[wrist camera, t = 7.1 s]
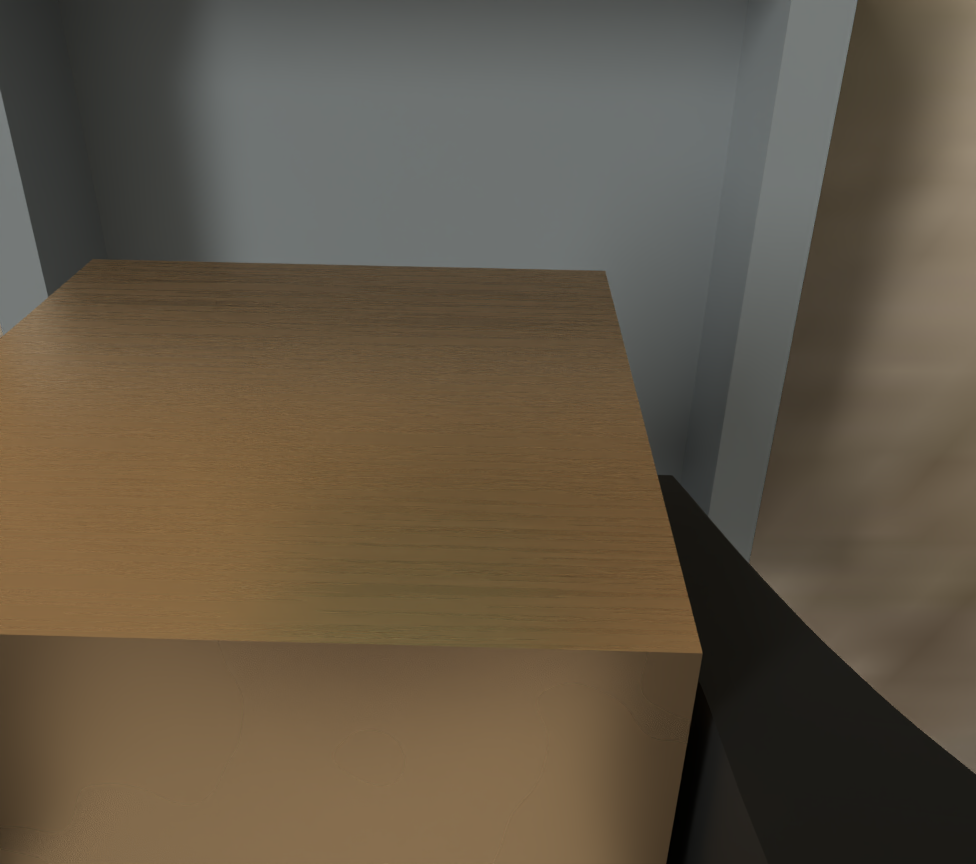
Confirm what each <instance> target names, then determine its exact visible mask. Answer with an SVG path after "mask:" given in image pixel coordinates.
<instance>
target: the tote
mask: <svg viewBox="0 0 976 864" xmlns="http://www.w3.org/2000/svg"><path fill="white" fill-rule="evenodd" d="M857 1H858V0H0V324H1V328H2V332H3V336H4V335H5V334H6V333H7V332H8V331H9V330H11V329H12V328H13V327H14V326H15V325H16V324H18V323H19V322H20V321H21V320H22V319H23V318H25V317H26V316H27V315H28V314H29V313H30V312H32V311H33V310H34V309H35V308H36V307H37V306H39V305H40V304H41V303H42V302H43V301H44V300H46V299H47V298H48V297H49V296H50V295H51V294H53V293H54V292H55V291H56V290H57V289H58V288H60V287H61V286H62V285H63V284H64V283H65V282H67V281H68V280H69V279H70V278H71V277H72V276H74V275H75V274H76V273H77V272H78V271H79V270H81V269H82V268H83V267H84V266H85V265H86V264H88V263H89V262H90V261H91V260H92V259H106V260H150V261H194V262H238V263H282V264H326V265H370V266H415V267H459V268H503V269H547V270H591V271H606V275H607V279H608V283H609V287H610V291H611V295H612V299H613V303H614V307H615V311H616V315H617V319H618V322H619V326H620V330H621V334H622V338H623V342H624V346H625V350H626V354H627V358H628V362H629V366H630V370H631V374H632V377H633V381H634V385H635V389H636V393H637V397H638V401H639V405H640V409H641V413H642V417H643V421H644V425H645V429H646V432H647V436H648V440H649V444H650V448H651V452H652V456H653V460H654V464H655V468H656V472H657V475H673V476H674V478H675V479H676V480H677V481H678V482H679V483H680V484H681V485H682V487H683V488H684V489H685V490H686V491H687V492H688V493H689V494H690V496H691V497H692V498H693V499H694V500H695V502H696V503H697V504H698V505H699V506H700V507H701V509H702V510H703V511H704V512H705V513H706V514H707V516H708V517H709V518H710V519H711V520H712V522H713V523H714V524H715V525H716V526H717V527H718V529H719V530H720V531H721V532H722V533H723V534H724V536H725V537H726V538H727V539H728V540H729V541H730V542H731V544H732V545H733V546H734V547H735V548H736V549H737V550H738V552H739V553H740V554H741V555H742V556H743V557H744V558H745V560H746V561H747V562H748V563H749V560H750V555H751V550H752V545H753V540H754V534H755V529H756V524H757V519H758V514H759V508H760V503H761V498H762V493H763V488H764V483H765V477H766V472H767V467H768V462H769V457H770V451H771V446H772V441H773V436H774V431H775V426H776V420H777V415H778V410H779V405H780V400H781V395H782V389H783V384H784V379H785V374H786V369H787V363H788V358H789V353H790V348H791V343H792V338H793V332H794V327H795V322H796V317H797V312H798V306H799V301H800V296H801V291H802V286H803V281H804V275H805V270H806V265H807V260H808V255H809V249H810V244H811V239H812V234H813V229H814V224H815V218H816V213H817V208H818V203H819V198H820V192H821V187H822V182H823V177H824V172H825V167H826V161H827V156H828V151H829V146H830V141H831V135H832V130H833V125H834V120H835V115H836V110H837V104H838V99H839V94H840V89H841V84H842V78H843V73H844V68H845V63H846V58H847V53H848V47H849V42H850V37H851V32H852V27H853V21H854V16H855V11H856V6H857Z"/></svg>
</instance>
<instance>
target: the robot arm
mask: <svg viewBox="0 0 976 864" xmlns="http://www.w3.org/2000/svg"><path fill="white" fill-rule="evenodd" d="M657 476H658V480H659V484H660V487H661V491H662V495H663V499H664V503H665V507H666V511H667V515H668V519H669V523H670V527H671V531H672V535H673V539H674V542H675V546H676V550H677V554H678V558H679V562H680V566H681V570H682V574H683V578H684V582H685V586H686V590H687V594H688V597H689V601H690V605H691V609H692V613H693V617H694V621H695V625H696V629H697V633H698V637H699V641H700V645H701V649H702V653H703V655H702V660H701V666H700V672H699V678H698V683H697V689H696V695H695V701H694V706H693V712H692V718H691V724H690V729H689V735H688V741H687V747H686V752H685V758H684V764H683V770H682V776H681V781H680V787H679V793H678V799H677V804H676V810H675V816H674V822H673V827H672V833H671V839H670V845H669V850H668V856H667V862H666V864H976V774H974V773H973V772H972V771H971V770H970V769H968V768H967V767H966V766H965V765H963V764H962V763H961V762H960V761H958V760H957V759H956V758H955V757H953V756H952V755H951V754H950V753H948V752H947V751H946V750H945V749H944V748H942V747H941V746H940V745H939V744H937V743H936V742H935V741H934V740H932V739H931V738H930V737H929V736H927V735H926V734H925V733H924V732H922V731H921V730H920V729H919V728H918V727H916V726H915V725H914V724H913V723H912V722H911V721H909V720H908V719H907V718H906V717H905V716H904V715H902V714H901V713H900V712H899V711H898V710H897V709H896V708H894V707H893V706H892V705H891V704H890V703H889V702H887V701H886V700H885V699H884V698H883V697H882V696H881V695H880V694H879V693H877V692H876V691H875V690H874V689H873V688H872V687H871V686H870V685H869V684H868V683H867V682H866V681H865V680H864V679H862V678H861V677H860V676H859V675H858V674H857V673H856V672H855V671H854V670H853V669H852V668H851V667H850V666H849V665H847V664H846V663H845V662H844V661H843V660H842V659H841V658H840V657H839V656H838V655H837V654H836V653H835V652H834V651H833V650H831V649H830V648H829V647H828V646H827V645H826V644H825V643H824V642H823V641H822V640H821V639H820V638H819V637H818V636H817V635H816V634H815V633H814V632H813V631H812V630H811V629H810V628H809V627H808V626H807V625H806V624H805V623H804V622H803V621H802V620H801V619H800V618H799V617H798V616H797V615H796V613H795V612H794V611H793V610H792V609H791V608H790V607H789V606H788V605H787V604H786V603H785V602H784V601H783V600H782V599H781V598H780V597H779V595H778V594H777V593H776V592H775V591H774V590H773V589H772V588H771V587H770V586H769V585H768V584H767V583H766V582H765V581H764V580H763V578H762V577H761V576H760V575H759V574H758V573H757V572H756V571H755V570H754V569H753V567H752V566H751V565H750V564H749V563H748V562H747V561H746V560H745V558H744V557H743V556H742V555H741V554H740V553H739V552H738V550H737V549H736V548H735V547H734V546H733V545H732V544H731V542H730V541H729V540H728V539H727V538H726V537H725V536H724V534H723V533H722V532H721V531H720V530H719V529H718V527H717V526H716V525H715V524H714V523H713V522H712V520H711V519H710V518H709V517H708V516H707V514H706V513H705V512H704V511H703V510H702V509H701V507H700V506H699V505H698V504H697V503H696V502H695V500H694V499H693V498H692V497H691V496H690V494H689V493H688V492H687V491H686V490H685V489H684V488H683V487H682V485H681V484H680V483H679V482H678V481H677V480H676V479H675V478H674V476H673V475H657Z"/></svg>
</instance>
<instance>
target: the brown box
mask: <svg viewBox="0 0 976 864" xmlns="http://www.w3.org/2000/svg"><path fill="white" fill-rule="evenodd" d="M702 655H703V653H702V649H701V645H700V641H699V637H698V633H697V629H696V625H695V621H694V617H693V613H692V609H691V605H690V601H689V597H688V594H687V590H686V586H685V582H684V578H683V574H682V570H681V566H680V562H679V558H678V554H677V550H676V546H675V542H674V539H673V535H672V531H671V527H670V523H669V519H668V515H667V511H666V507H665V503H664V499H663V495H662V491H661V487H660V484H659V480H658V476H657V472H656V468H655V464H654V460H653V456H652V452H651V448H650V444H649V440H648V436H647V432H646V429H645V425H644V421H643V417H642V413H641V409H640V405H639V401H638V397H637V393H636V389H635V385H634V381H633V377H632V374H631V370H630V366H629V362H628V358H627V354H626V350H625V346H624V342H623V338H622V334H621V330H620V326H619V322H618V319H617V315H616V311H615V307H614V303H613V299H612V295H611V291H610V287H609V283H608V279H607V275H606V271H591V270H547V269H503V268H459V267H415V266H370V265H326V264H282V263H238V262H194V261H150V260H106V259H92V260H91V261H90V262H89V263H88V264H86V265H85V266H84V267H83V268H82V269H81V270H79V271H78V272H77V273H76V274H75V275H74V276H72V277H71V278H70V279H69V280H68V281H67V282H65V283H64V284H63V285H62V286H61V287H60V288H58V289H57V290H56V291H55V292H54V293H53V294H51V295H50V296H49V297H48V298H47V299H46V300H44V301H43V302H42V303H41V304H40V305H39V306H37V307H36V308H35V309H34V310H33V311H32V312H30V313H29V314H28V315H27V316H26V317H25V318H23V319H22V320H21V321H20V322H19V323H18V324H16V325H15V326H14V327H13V328H12V329H11V330H9V331H8V332H7V333H6V334H5V335H4V336H2V337H1V338H0V864H666V862H667V856H668V850H669V845H670V839H671V833H672V827H673V822H674V816H675V810H676V804H677V799H678V793H679V787H680V781H681V776H682V770H683V764H684V758H685V752H686V747H687V741H688V735H689V729H690V724H691V718H692V712H693V706H694V701H695V695H696V689H697V683H698V678H699V672H700V666H701V660H702Z"/></svg>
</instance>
